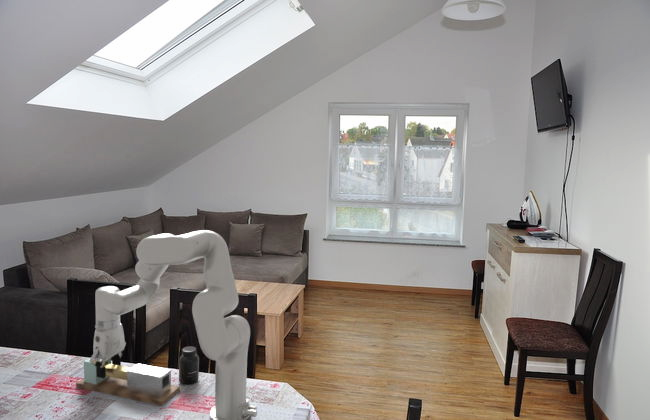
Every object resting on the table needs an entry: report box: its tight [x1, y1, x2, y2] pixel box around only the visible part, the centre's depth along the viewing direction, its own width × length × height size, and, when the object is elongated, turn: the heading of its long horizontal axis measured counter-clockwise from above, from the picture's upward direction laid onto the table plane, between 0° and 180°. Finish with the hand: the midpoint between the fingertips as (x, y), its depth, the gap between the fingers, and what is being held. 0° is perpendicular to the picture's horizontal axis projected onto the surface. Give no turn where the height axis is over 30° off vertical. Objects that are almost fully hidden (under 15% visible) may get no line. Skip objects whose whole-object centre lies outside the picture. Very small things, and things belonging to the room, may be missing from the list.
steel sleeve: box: [127, 363, 172, 397], centre depth 150 cm, size 13×6×7 cm, turn 74°
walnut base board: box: [75, 377, 181, 407], centre depth 153 cm, size 34×10×2 cm, turn 74°
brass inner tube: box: [104, 363, 131, 380], centre depth 153 cm, size 20×3×3 cm, turn 74°
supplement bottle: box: [178, 346, 200, 386], centre depth 160 cm, size 7×7×12 cm
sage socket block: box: [83, 357, 112, 384], centre depth 156 cm, size 5×7×8 cm
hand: (109, 372), depth 155 cm, fingers open, 6 cm apart
